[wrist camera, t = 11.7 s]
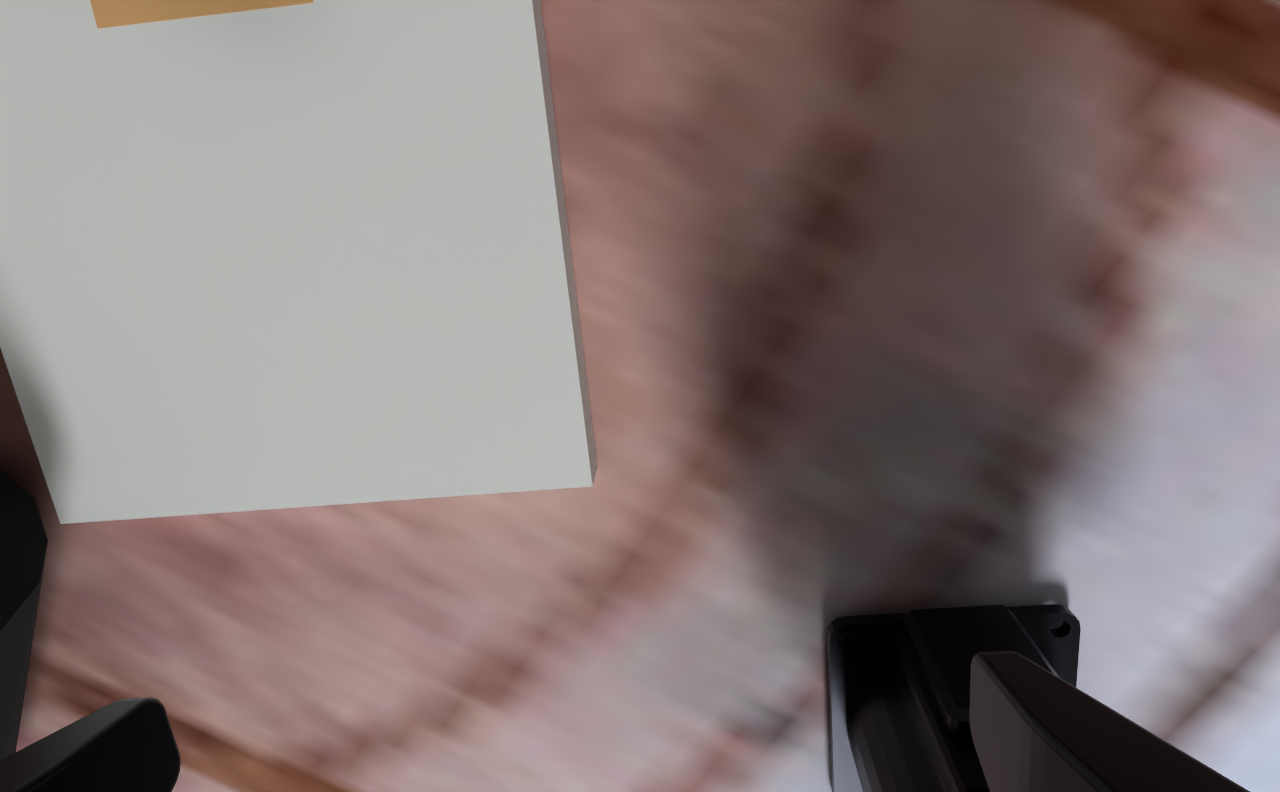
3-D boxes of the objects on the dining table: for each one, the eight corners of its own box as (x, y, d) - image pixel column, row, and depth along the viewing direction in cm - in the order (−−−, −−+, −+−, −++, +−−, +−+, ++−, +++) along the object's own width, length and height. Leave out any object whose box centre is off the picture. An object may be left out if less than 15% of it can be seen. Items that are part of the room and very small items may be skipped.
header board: (597, 467, 21) (580, 533, 17) (92, 504, 22) (-21, 572, 18) (460, -656, 14) (389, -916, 11) (-244, -529, 15) (-516, -728, 12)
